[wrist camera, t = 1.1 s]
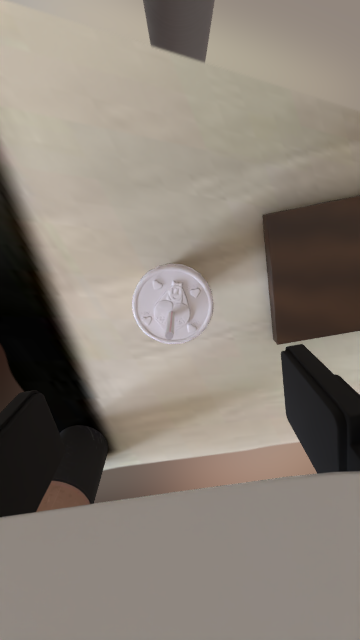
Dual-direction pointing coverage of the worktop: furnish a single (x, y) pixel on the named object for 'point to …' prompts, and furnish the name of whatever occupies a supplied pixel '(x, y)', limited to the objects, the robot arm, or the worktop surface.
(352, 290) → the walnut board
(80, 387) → the worktop surface
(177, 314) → the smoothie
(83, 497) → the travel mug
